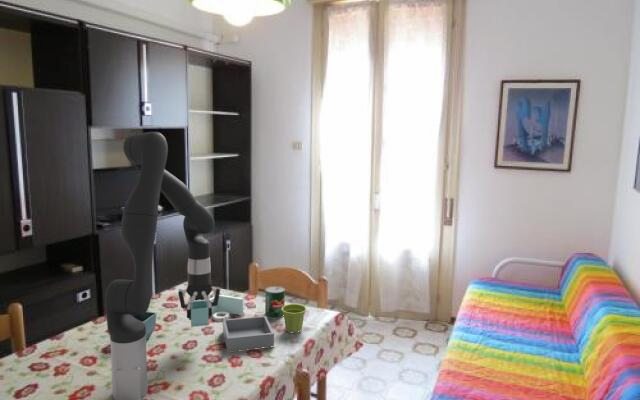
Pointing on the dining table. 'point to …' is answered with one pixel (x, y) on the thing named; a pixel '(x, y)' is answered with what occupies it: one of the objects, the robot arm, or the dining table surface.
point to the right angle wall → (226, 307)
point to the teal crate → (199, 313)
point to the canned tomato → (274, 301)
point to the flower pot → (147, 322)
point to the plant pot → (293, 317)
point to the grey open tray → (247, 333)
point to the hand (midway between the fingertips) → (199, 318)
